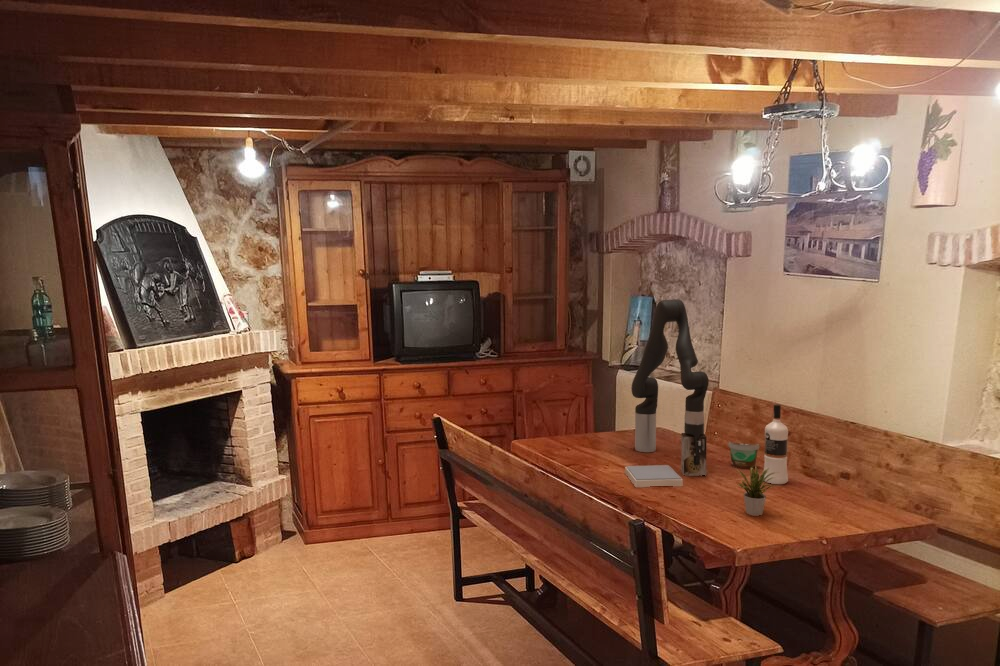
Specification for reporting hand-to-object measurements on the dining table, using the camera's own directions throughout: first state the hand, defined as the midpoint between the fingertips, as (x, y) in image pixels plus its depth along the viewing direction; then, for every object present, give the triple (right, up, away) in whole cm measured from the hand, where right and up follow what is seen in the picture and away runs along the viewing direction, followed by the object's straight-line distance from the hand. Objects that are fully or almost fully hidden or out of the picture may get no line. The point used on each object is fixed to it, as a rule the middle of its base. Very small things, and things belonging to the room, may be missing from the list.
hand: (693, 462), depth 279 cm
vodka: (+29, -6, -10) cm, 31 cm away
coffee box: (0, -5, 0) cm, 5 cm away
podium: (-18, -6, -6) cm, 20 cm away
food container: (+23, -4, +8) cm, 25 cm away
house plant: (+9, -9, -45) cm, 47 cm away
